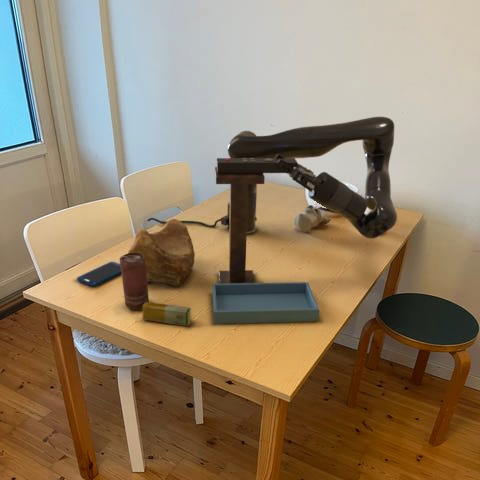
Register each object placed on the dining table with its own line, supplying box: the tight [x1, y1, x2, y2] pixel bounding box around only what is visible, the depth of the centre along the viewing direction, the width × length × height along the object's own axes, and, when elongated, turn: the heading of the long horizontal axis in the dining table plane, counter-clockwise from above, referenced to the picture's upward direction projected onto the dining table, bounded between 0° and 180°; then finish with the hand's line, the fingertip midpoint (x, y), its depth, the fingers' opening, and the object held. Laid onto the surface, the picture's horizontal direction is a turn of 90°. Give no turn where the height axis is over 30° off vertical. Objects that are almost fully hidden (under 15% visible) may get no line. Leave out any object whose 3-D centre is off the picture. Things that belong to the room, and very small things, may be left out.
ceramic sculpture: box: [294, 204, 332, 233], centre depth 173 cm, size 11×9×15 cm
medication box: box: [142, 301, 192, 327], centre depth 120 cm, size 12×3×4 cm, turn 79°
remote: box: [216, 157, 299, 174], centre depth 121 cm, size 20×4×3 cm, turn 94°
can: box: [119, 252, 150, 311], centre depth 124 cm, size 6×6×14 cm
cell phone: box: [76, 261, 122, 288], centre depth 141 cm, size 7×14×1 cm, turn 146°
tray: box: [211, 281, 320, 325], centre depth 127 cm, size 27×15×4 cm, turn 95°
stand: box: [214, 166, 266, 284], centre depth 130 cm, size 12×10×32 cm
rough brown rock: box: [127, 218, 196, 287], centre depth 137 cm, size 23×17×15 cm
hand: (277, 160), depth 121 cm, fingers closed on remote, 4 cm apart
